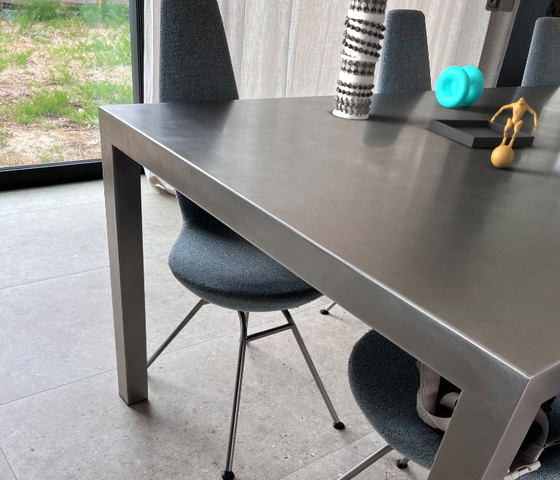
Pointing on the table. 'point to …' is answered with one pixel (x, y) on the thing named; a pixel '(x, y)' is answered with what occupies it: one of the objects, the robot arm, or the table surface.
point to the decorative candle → (359, 58)
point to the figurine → (505, 153)
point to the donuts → (459, 86)
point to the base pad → (479, 133)
